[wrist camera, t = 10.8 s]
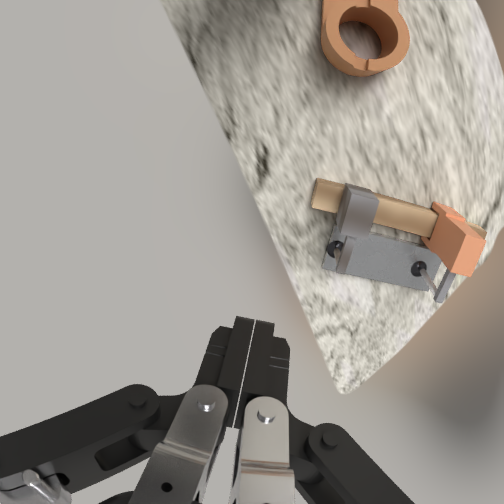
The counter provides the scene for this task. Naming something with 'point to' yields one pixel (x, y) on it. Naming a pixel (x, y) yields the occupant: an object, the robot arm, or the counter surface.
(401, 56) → the bracket
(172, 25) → the counter surface
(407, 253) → the strip
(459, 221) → the block
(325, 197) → the trammel bar
